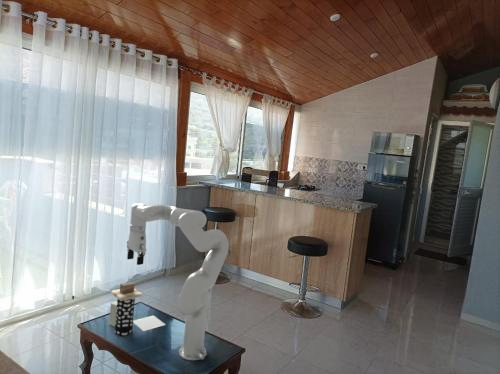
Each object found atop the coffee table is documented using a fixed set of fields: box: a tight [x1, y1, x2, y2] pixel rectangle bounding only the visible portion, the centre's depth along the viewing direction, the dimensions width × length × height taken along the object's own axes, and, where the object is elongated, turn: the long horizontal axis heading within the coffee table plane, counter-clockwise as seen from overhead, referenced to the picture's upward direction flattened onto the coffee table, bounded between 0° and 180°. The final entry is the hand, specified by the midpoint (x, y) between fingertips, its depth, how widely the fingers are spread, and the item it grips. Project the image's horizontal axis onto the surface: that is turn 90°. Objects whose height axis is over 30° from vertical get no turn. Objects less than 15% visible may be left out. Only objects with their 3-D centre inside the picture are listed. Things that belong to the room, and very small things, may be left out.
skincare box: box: [108, 300, 117, 328], centre depth 187 cm, size 6×4×12 cm
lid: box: [110, 281, 143, 301], centre depth 177 cm, size 11×11×6 cm
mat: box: [133, 315, 166, 332], centre depth 191 cm, size 13×13×1 cm
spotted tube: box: [114, 297, 136, 337], centre depth 178 cm, size 8×8×20 cm
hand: (135, 261), depth 180 cm, fingers open, 9 cm apart
